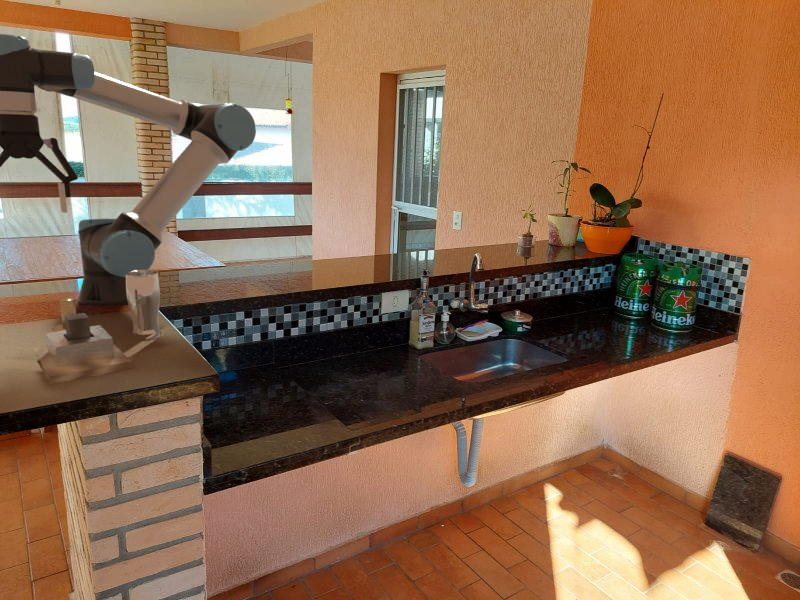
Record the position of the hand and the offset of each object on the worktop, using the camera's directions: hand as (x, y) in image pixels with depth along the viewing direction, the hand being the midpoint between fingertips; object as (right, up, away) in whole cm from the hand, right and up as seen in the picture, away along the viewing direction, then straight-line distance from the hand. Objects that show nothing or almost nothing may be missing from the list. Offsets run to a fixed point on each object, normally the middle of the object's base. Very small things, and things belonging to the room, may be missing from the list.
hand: (30, 213), depth 131 cm
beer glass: (+25, -28, +3) cm, 37 cm away
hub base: (+18, -32, -12) cm, 39 cm away
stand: (+7, -27, +4) cm, 28 cm away
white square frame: (+18, -30, -13) cm, 38 cm away
